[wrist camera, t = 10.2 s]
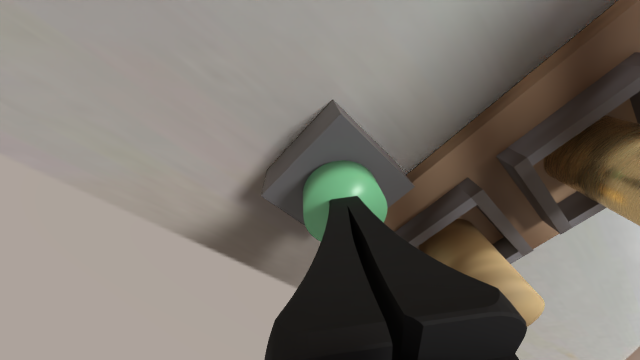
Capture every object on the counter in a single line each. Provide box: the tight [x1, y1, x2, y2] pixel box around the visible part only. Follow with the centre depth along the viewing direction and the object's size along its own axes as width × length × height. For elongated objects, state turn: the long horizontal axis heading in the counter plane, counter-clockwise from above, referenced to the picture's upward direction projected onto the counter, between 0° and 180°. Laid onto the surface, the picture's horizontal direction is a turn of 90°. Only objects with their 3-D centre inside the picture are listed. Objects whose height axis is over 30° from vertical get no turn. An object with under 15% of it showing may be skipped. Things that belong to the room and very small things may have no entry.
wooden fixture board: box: [384, 0, 640, 326], centre depth 15 cm, size 20×13×7 cm, turn 136°
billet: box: [544, 115, 640, 226], centre depth 13 cm, size 4×4×6 cm
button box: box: [261, 100, 415, 225], centre depth 15 cm, size 6×6×3 cm
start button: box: [303, 160, 387, 241], centre depth 13 cm, size 4×4×2 cm
